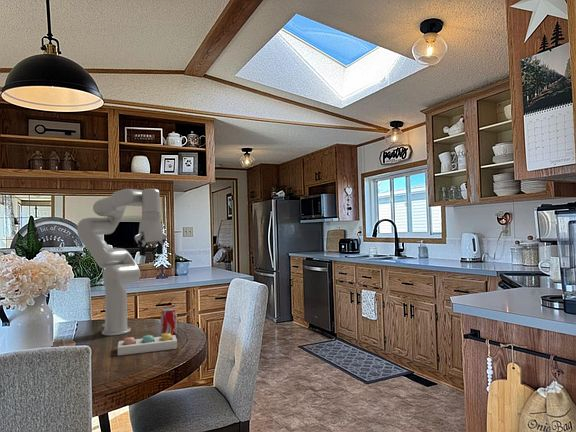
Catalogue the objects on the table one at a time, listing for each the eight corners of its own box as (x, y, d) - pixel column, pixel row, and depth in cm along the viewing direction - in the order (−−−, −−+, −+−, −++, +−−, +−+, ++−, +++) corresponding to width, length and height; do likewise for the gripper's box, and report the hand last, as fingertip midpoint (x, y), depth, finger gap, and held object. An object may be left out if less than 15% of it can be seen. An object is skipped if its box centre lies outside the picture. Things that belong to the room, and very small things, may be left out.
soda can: (172, 338, 176) (172, 310, 176) (157, 337, 177) (157, 310, 178) (179, 334, 183) (179, 307, 183) (165, 333, 184) (165, 307, 185)
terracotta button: (123, 348, 156) (123, 340, 156) (123, 345, 160) (123, 337, 160) (134, 346, 157) (134, 339, 158) (134, 344, 161) (134, 336, 161)
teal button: (142, 345, 159) (142, 338, 159) (142, 343, 162) (142, 335, 162) (153, 344, 160) (153, 337, 160) (153, 342, 164) (152, 334, 164)
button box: (117, 355, 153) (117, 347, 153) (118, 348, 162) (118, 341, 162) (177, 348, 160) (177, 340, 160) (175, 342, 170) (175, 335, 170)
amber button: (161, 343, 161) (161, 336, 161) (160, 341, 165) (160, 333, 165) (171, 342, 162) (171, 335, 163) (170, 340, 166) (170, 332, 166)
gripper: (159, 217, 188) (160, 253, 188) (129, 216, 173) (129, 256, 172) (171, 216, 185) (171, 253, 184) (141, 215, 170) (141, 256, 169)
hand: (151, 254), depth 178 cm, fingers open, 9 cm apart
